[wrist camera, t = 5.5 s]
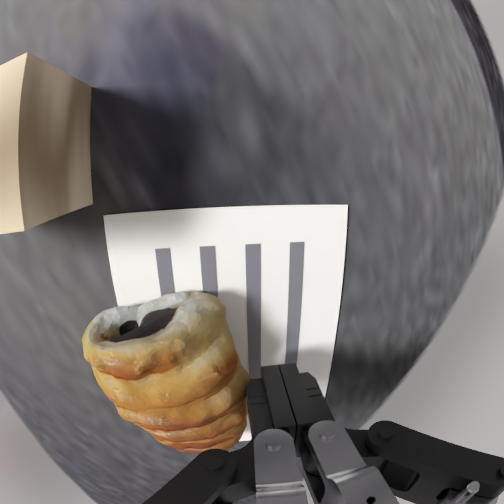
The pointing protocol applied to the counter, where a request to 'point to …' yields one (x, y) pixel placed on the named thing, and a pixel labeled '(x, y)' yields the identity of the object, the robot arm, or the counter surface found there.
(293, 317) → the letter
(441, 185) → the counter surface
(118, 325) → the pastry
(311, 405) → the robot arm
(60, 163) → the maple cube
